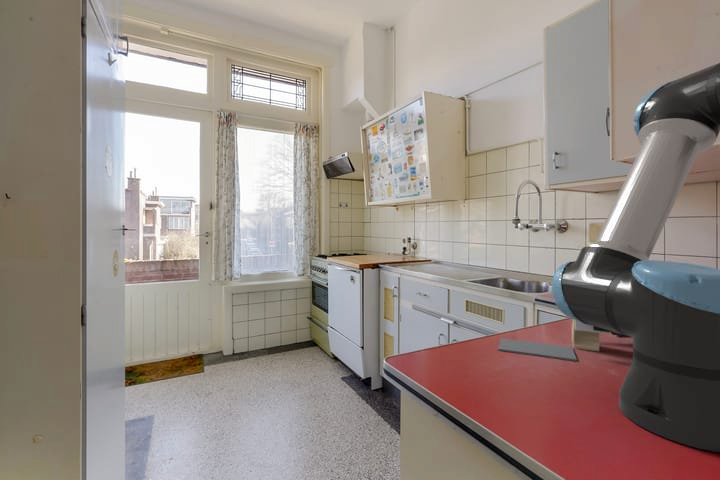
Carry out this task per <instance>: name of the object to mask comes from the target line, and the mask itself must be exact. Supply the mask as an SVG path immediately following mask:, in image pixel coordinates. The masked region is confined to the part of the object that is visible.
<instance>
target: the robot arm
mask: <svg viewBox="0 0 720 480" xmlns="http://www.w3.org/2000/svg"><path fill="white" fill-rule="evenodd" d="M633 122H635V124H634V125H633V129H634V132H635V135H636V136H637V140H638V143H639V145H641V147H640V149H639V151H638V153H637V155H636V157H635V160H634V161H633V164H632V166H631V167H630V169H629V171H628V174H627V176H626V178H625V180H624V181H623V184H622V186H621V188H620V190H619V192H618V194H617V197H616V198H615V200H614V202H613V204H612V206H611V208H610V211H609V213H608V215H607V216H606V219H605V220H604V224H603V225H602V227H601V230H600V231H599V233H598V234H597V235H598V236H597V238H596V239H595V241H594V242H592V243H590V244H586V245H584V246H583V247H582V248H581V249H580V252H579V254H578V256H577V258H576V260H573V261H571V260H570V261H568V262H566V263H563V264H561V265H560V266H558V267H557V269H555V271H554V274H553V277H552V280H551V296H552V297H553V298H554V303H555V305H556V307H557V308H558V309H559V311H560V312H561V313H562V314H563V315H565V316H566V317H568V318H569V319H571V320H572V319H574V320H575V330H579V331H589V332H599V334H600V333H601V334H611V335H613V336H616V337H617V338H618V339H619V338H620V339H621V338H623V339H624V338H631V339H632V362H631V365H629V369H628V371H627V373H626V375H625V377H624V380H623V382H622V384H621V387H620V388H619V391H618V407H619V410H620V411H621V413H622V414H623V415H624V416H625V417H626V418H628V419H629V420H630V421H631V422H633V423H634V424H636V425H638V426H639V427H641V428H643V429H645V430H647V431H649V432H651V433H653V434H655V435H658V436H660V437H663V438H664V439H668V440H670V441H673V442H676V443H679V444H682V445H685V446H687V447H688V446H689V447H693V448H696V449H700V450H703V451H704V450H705V451H709V452H714V453H720V268H716V267H711V266H706V265H701V264H695V263H687V262H676V261H669V260H655V259H653V260H652V259H651V260H650V257H651V254H652V253H653V250H654V248H655V246H656V244H657V243H658V239H659V238H660V235H661V233H662V231H663V229H664V228H665V225H666V223H667V221H668V218H669V217H670V214H671V212H672V210H673V208H674V206H675V204H676V201H677V198H678V197H679V195H680V192H681V191H682V189H683V186H684V184H685V182H686V179H687V178H688V176H689V173H690V171H691V169H692V167H693V165H694V162H695V161H696V158H697V156H698V154H701V153H704V152H706V151H708V150H709V149H711V148H712V147H713V146H714V144H715V143H716V141H717V138H718V137H719V134H720V62H719V63H716V64H713V65H711V66H708V67H706V68H703V69H701V70H698V71H696V72H695V71H694V72H693V73H690V74H688V75H685V76H683V77H681V78H678V79H675V80H672V81H669V82H666V83H664V84H662V85H661V86H660V87H658V88H655V89H654V90H651V91H649V92H648V93H646V95H645V96H644V97H642V99H641V100H640V101H639V103H638V104H637V106H636V108H635V111H634V113H633Z"/></svg>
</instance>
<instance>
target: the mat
mask: <svg viewBox="0 0 720 480" xmlns="http://www.w3.org/2000/svg"><path fill="white" fill-rule="evenodd" d="M497 349H498V351H501V352H507V353H514V354H521V355H528V356H535V357H536V356H537V357H541V358H542V357H543V358H544V357H545V358H551V359H558V360H564V361H565V360H566V361H572V362H573V361H574V362H577V361H578V359H577V356H576V354H575V351H574V347H573V346H567V345H559V344H558V345H557V344H550V343H542V342H534V341H527V340H519V339H511V338H510V339H509V338H503V337H501V338H500V341H499V344H498V348H497Z"/></svg>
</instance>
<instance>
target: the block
mask: <svg viewBox="0 0 720 480" xmlns="http://www.w3.org/2000/svg"><path fill="white" fill-rule="evenodd" d="M571 344H572V348H573V349H574V350H575V349H576V350H585V351H593V352H600V333H599V332H589V331H579V330H575V320H574V319H572V318H571Z"/></svg>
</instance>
